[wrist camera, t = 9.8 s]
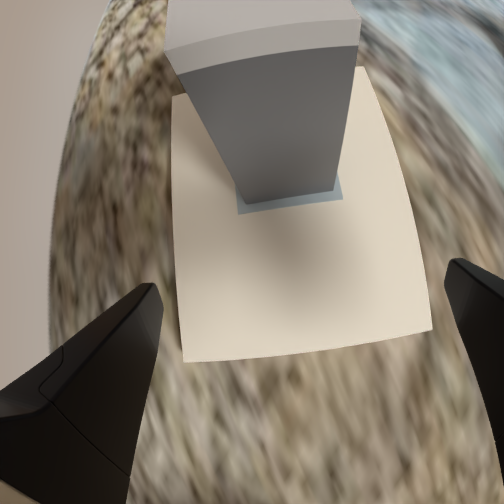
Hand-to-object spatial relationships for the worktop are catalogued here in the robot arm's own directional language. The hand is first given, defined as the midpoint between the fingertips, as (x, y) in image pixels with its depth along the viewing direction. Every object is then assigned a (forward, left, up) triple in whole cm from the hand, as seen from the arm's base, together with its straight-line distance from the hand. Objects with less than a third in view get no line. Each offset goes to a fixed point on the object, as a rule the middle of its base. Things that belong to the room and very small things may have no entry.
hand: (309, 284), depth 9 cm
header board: (+6, -1, -9) cm, 11 cm away
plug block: (+8, -1, -8) cm, 11 cm away
